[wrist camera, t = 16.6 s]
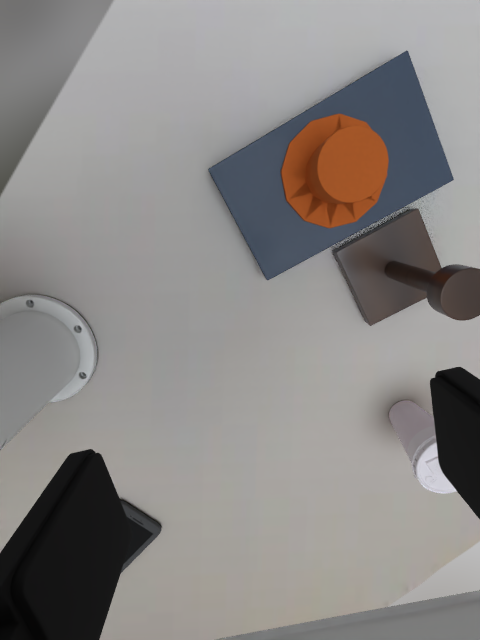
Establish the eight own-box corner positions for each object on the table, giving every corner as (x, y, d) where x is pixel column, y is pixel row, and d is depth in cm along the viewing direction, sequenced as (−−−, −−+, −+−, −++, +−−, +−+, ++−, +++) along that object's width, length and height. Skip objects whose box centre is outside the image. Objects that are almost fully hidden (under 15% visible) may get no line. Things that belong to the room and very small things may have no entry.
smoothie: (388, 385, 43) (458, 462, 29) (438, 395, 43) (530, 476, 30) (370, 431, 45) (429, 524, 31) (419, 441, 45) (497, 537, 32)
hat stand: (365, 322, 41) (429, 374, 27) (332, 251, 38) (384, 269, 25) (441, 284, 40) (547, 318, 26) (411, 208, 37) (510, 204, 24)
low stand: (265, 276, 39) (267, 280, 37) (209, 172, 36) (207, 169, 34) (439, 182, 37) (454, 179, 34) (395, 61, 34) (407, 49, 31)
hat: (308, 246, 36) (322, 252, 30) (261, 150, 33) (267, 137, 28) (401, 195, 35) (435, 191, 29) (360, 92, 32) (387, 65, 26)
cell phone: (59, 561, 49) (56, 566, 49) (119, 496, 47) (117, 501, 46) (104, 587, 51) (102, 592, 50) (164, 526, 48) (163, 530, 47)
